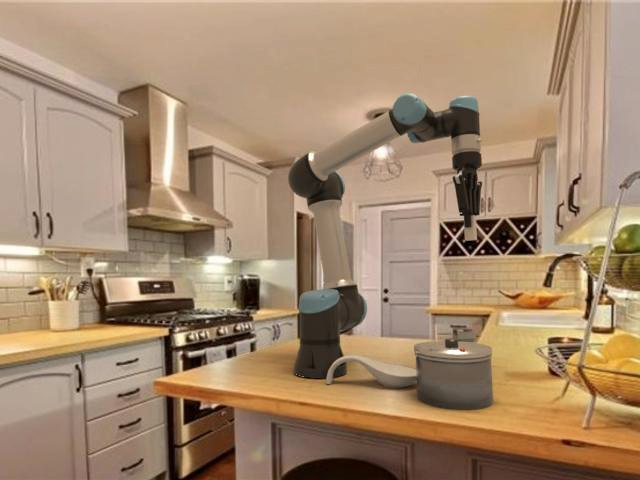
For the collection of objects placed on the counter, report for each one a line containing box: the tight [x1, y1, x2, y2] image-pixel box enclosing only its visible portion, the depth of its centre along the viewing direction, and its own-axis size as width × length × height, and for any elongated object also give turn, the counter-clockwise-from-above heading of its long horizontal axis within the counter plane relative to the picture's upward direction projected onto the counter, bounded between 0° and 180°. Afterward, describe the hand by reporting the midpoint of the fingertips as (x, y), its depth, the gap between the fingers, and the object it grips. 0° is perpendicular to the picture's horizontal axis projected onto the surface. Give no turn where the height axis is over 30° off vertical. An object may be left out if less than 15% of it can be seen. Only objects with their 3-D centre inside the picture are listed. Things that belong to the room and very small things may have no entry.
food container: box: [452, 327, 477, 343], centre depth 127 cm, size 12×6×10 cm, turn 168°
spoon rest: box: [325, 354, 417, 389], centre depth 104 cm, size 24×12×7 cm, turn 82°
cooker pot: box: [414, 352, 494, 411], centre depth 92 cm, size 18×16×10 cm
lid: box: [413, 338, 493, 359], centre depth 92 cm, size 17×17×3 cm
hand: (470, 240), depth 110 cm, fingers closed
